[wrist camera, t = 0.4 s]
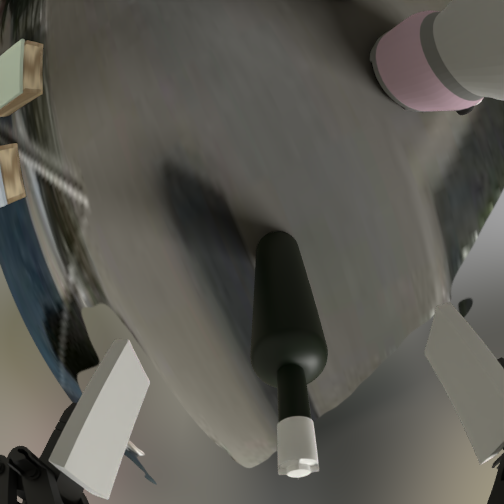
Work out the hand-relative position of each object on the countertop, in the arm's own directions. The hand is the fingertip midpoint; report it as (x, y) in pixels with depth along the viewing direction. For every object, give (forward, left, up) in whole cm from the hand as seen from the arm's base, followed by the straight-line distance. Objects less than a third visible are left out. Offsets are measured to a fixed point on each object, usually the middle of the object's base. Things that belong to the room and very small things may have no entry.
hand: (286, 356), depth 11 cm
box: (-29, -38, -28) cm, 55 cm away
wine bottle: (+7, 0, -28) cm, 29 cm away
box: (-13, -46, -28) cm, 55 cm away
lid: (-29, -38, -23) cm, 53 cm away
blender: (-16, +22, -28) cm, 39 cm away
